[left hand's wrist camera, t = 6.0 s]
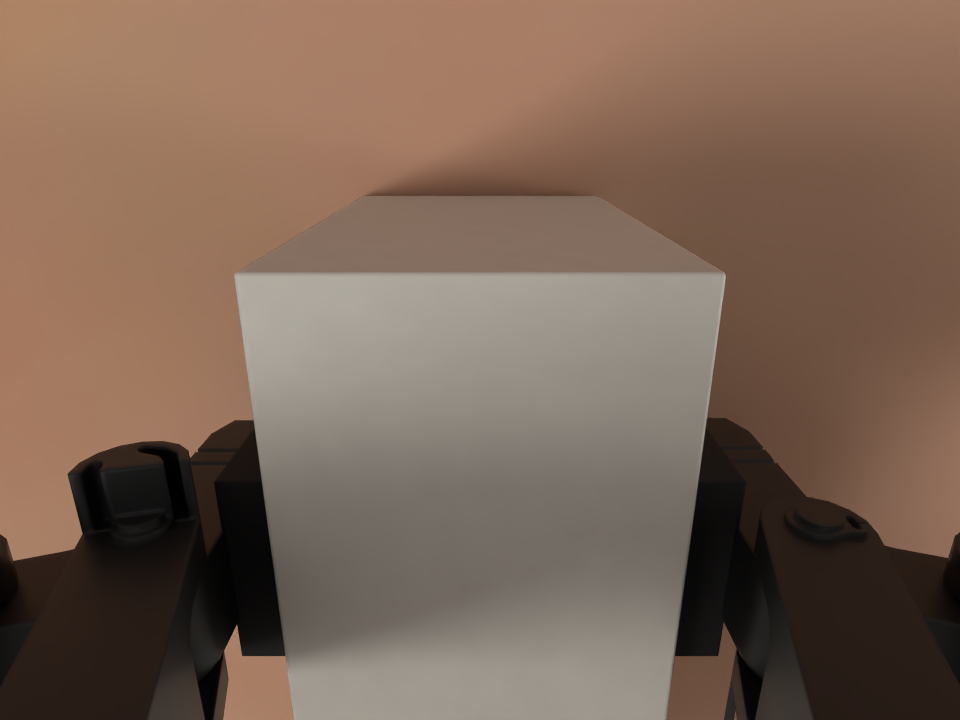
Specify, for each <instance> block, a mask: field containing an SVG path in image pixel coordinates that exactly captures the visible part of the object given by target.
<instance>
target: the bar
mask: <svg viewBox="0 0 960 720" xmlns="http://www.w3.org/2000/svg"><path fill="white" fill-rule="evenodd" d="M234 278H235V285H236V293H237V300H238V307H239V315H240V322H241V330H242V337H243V345H244V352H245V359H246V367H247V374H248V382H249V389H250V396H251V404H252V411H253V419H254V426H255V434H256V441H257V448H258V456H259V463H260V471H261V478H262V485H263V493H264V500H265V508H266V515H267V523H268V530H269V537H270V545H271V552H272V560H273V567H274V574H275V582H276V589H277V597H278V604H279V612H280V619H281V626H282V634H283V641H284V649H285V656H286V663H287V671H288V678H289V686H290V693H291V701H292V708H293V715H294V720H666V717H667V710H668V702H669V695H670V687H671V680H672V673H673V665H674V658H675V650H676V643H677V636H678V628H679V621H680V613H681V606H682V598H683V591H684V584H685V576H686V569H687V561H688V554H689V547H690V539H691V532H692V524H693V517H694V509H695V502H696V495H697V487H698V480H699V472H700V465H701V457H702V450H703V443H704V435H705V428H706V420H707V413H708V406H709V398H710V391H711V383H712V376H713V368H714V361H715V354H716V346H717V339H718V331H719V324H720V317H721V309H722V302H723V294H724V287H725V279H726V275H725V273H724V272H723V271H721V270H719V269H718V268H716V267H714V266H713V265H711V264H709V263H708V262H706V261H704V260H703V259H701V258H699V257H698V256H696V255H694V254H693V253H691V252H689V251H688V250H686V249H684V248H683V247H681V246H679V245H678V244H676V243H674V242H673V241H671V240H669V239H668V238H666V237H664V236H663V235H661V234H659V233H658V232H656V231H654V230H653V229H651V228H649V227H648V226H646V225H644V224H643V223H641V222H639V221H638V220H636V219H634V218H633V217H631V216H629V215H628V214H626V213H624V212H623V211H621V210H619V209H618V208H616V207H614V206H613V205H611V204H609V203H608V202H606V201H604V200H603V199H601V198H599V197H598V196H362V197H360V198H359V199H357V200H355V201H354V202H352V203H350V204H349V205H347V206H345V207H344V208H342V209H341V210H339V211H337V212H336V213H334V214H332V215H331V216H329V217H327V218H326V219H324V220H322V221H321V222H319V223H317V224H316V225H314V226H312V227H311V228H309V229H307V230H306V231H304V232H302V233H301V234H299V235H297V236H296V237H294V238H292V239H291V240H289V241H287V242H286V243H284V244H282V245H281V246H279V247H277V248H276V249H274V250H273V251H271V252H269V253H268V254H266V255H264V256H263V257H261V258H259V259H258V260H256V261H254V262H253V263H251V264H249V265H248V266H246V267H244V268H243V269H241V270H239V271H238V272H236V273H235V276H234Z"/></svg>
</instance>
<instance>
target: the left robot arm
mask: <svg viewBox="0 0 960 720" xmlns="http://www.w3.org/2000/svg"><path fill="white" fill-rule="evenodd" d="M68 478H69V482H70V486H71V489H72V493H73V497H74V501H75V505H76V509H77V513H78V517H79V521H80V525H81V529H82V533H83V534H82V536H81V538H80V540H79V542H78V544H77V545H76V547H75V549H73V550H69V551H64V552H59V553H54V554H48V555H43V556H38V557H32V558H27V559H22V560H16V561H13V559H12V555H11V552H10V549H9V545H8V542H7V539H6V538H4V537H3V536H2V535H0V720H223V716H224V708H225V701H226V693H227V686H228V673H227V665H226V660H225V654H224V650H225V648H226V646H227V644H228V641H229V639H230V637H231V635H232V633H233V631H234V629H235V627H236V625H237V626H238V632H239V638H240V644H241V651H242V656H285V649H284V641H283V634H282V626H281V619H280V612H279V604H278V597H277V589H276V582H275V574H274V567H273V560H272V552H271V545H270V537H269V530H268V523H267V515H266V508H265V500H264V493H263V485H262V478H261V471H260V463H259V456H258V448H257V441H256V434H255V426H254V420H235V421H233V422H231V423H230V424H228V425H226V426H224V427H223V428H221V429H219V430H217V431H216V432H214V433H212V434H211V435H210V436H209V437H208V439H207V440H206V441H205V442H204V443H203V444H202V445H201V447H200V448H199V449H198V452H195V453H194V455H193V456H192V457H191V458H190V456H189V451H188V450H187V449H185V448H184V447H182V446H181V445H179V444H175V443H170V442H165V441H153V442H139V443H133V444H128V445H122V446H118V447H115V448H112V449H109V450H106V451H103V452H100V453H97V454H95V455H93V456H92V457H90V458H88V459H86V460H84V461H82V462H80V463H79V464H78V465H77V466H76V467H74V468H73V469H72V470H71V471H70V472H69V473H68ZM723 623H725V625H726V627H727V629H728V631H729V633H730V635H731V637H732V639H733V641H734V643H735V645H736V654H735V660H734V665H733V671H732V677H731V682H730V688H729V694H728V699H727V705H726V711H725V718H724V720H734V715H735V711H736V714H737V720H960V533H958V534H957V535H956V536H955V537H954V541H953V544H952V547H951V550H950V554H949V557H948V558H944V557H939V556H933V555H928V554H923V553H917V552H912V551H906V550H901V549H896V548H892V547H888V546H884V544H883V542H882V541H881V539H880V537H879V535H878V533H877V532H876V531H875V530H874V529H873V528H872V526H871V525H870V524H869V523H868V522H867V521H866V520H865V519H863V518H861V517H860V516H858V515H857V514H855V513H854V512H852V511H850V510H849V509H846V508H843V507H841V506H838V505H836V504H833V503H831V502H828V501H824V500H819V499H814V498H810V497H806V496H805V495H804V494H803V492H802V491H801V490H800V489H799V488H798V487H797V486H796V484H795V483H794V482H793V481H792V480H791V479H790V478H789V476H788V475H787V474H786V473H785V472H784V471H783V470H782V468H781V467H780V466H779V465H778V464H777V463H774V459H773V458H772V457H771V456H770V455H769V454H768V453H767V451H766V450H763V447H762V446H761V445H760V443H759V442H758V441H757V440H756V439H755V438H754V437H753V435H752V434H751V433H750V432H749V431H747V430H745V429H744V428H742V427H740V426H738V425H737V424H735V423H733V422H731V421H730V420H728V419H726V418H707V420H706V428H705V435H704V443H703V450H702V457H701V465H700V472H699V480H698V487H697V495H696V502H695V509H694V517H693V524H692V532H691V539H690V547H689V554H688V561H687V569H686V576H685V584H684V591H683V598H682V606H681V613H680V621H679V628H678V636H677V643H676V650H675V656H718V653H719V647H720V641H721V635H722V629H723Z"/></svg>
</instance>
